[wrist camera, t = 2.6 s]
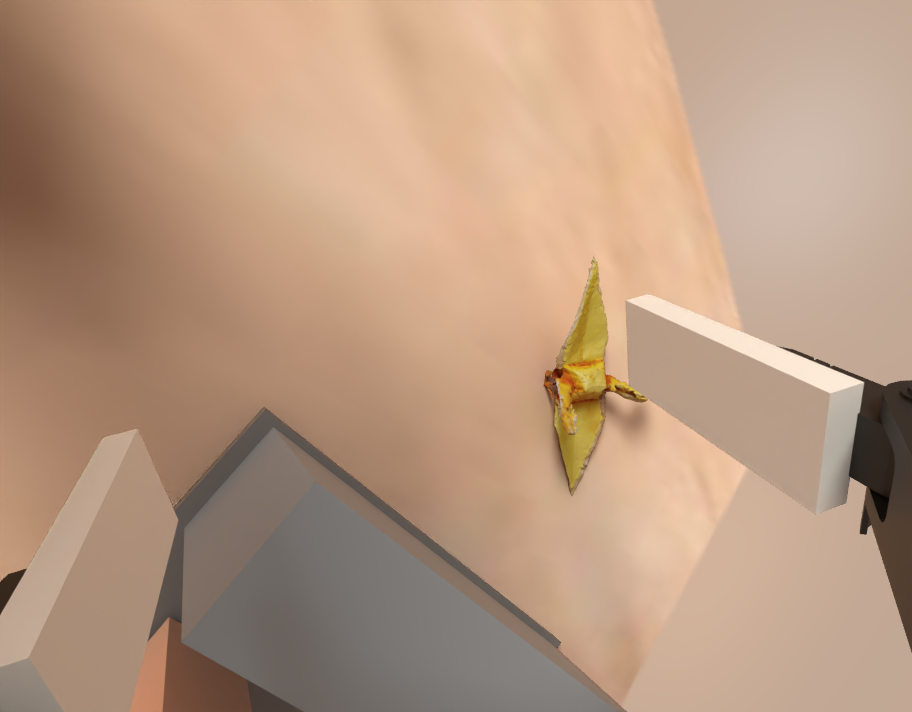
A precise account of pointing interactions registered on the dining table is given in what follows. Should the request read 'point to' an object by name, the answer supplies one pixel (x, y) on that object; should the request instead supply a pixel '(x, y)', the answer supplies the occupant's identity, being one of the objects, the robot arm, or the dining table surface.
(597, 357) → the origami crane
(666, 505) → the dining table surface
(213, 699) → the button one
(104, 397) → the dining table surface
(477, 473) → the dining table surface
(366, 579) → the console
